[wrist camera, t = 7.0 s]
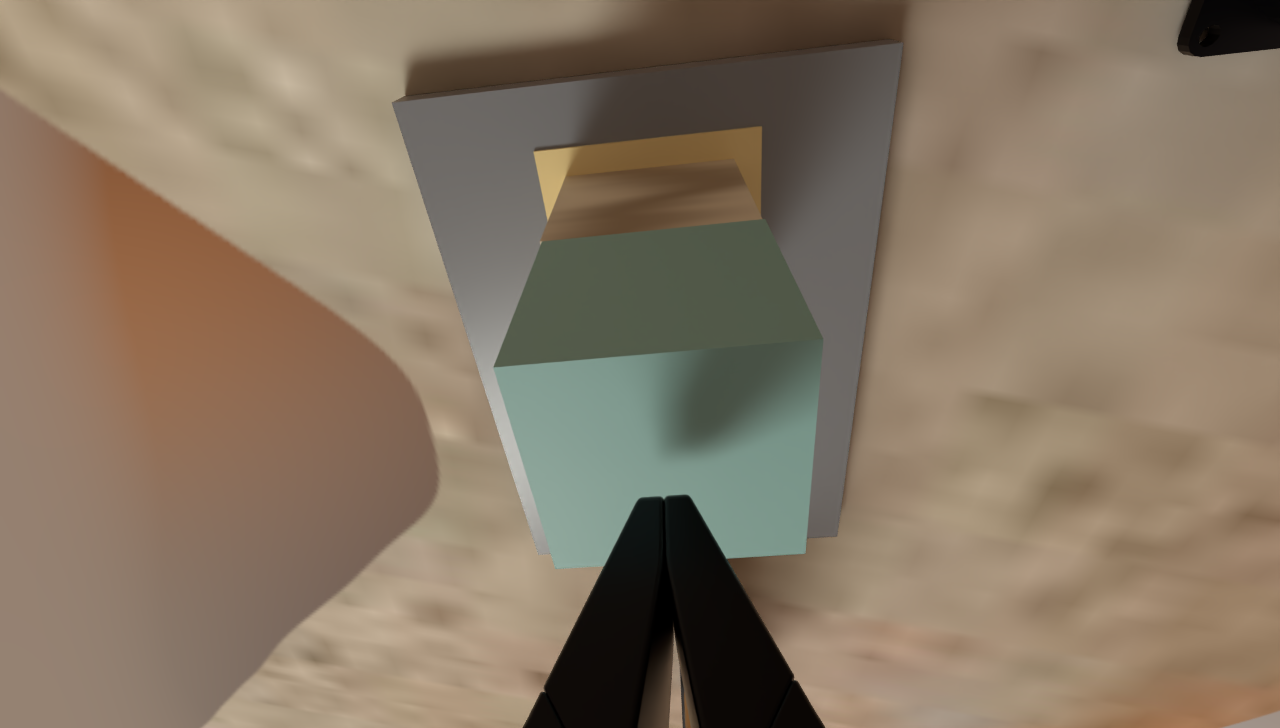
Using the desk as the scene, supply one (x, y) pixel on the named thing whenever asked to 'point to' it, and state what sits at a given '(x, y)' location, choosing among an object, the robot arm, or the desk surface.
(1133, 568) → the desk surface
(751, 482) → the teal block
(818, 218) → the grey flat plate
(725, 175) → the maple block
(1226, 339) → the desk surface
